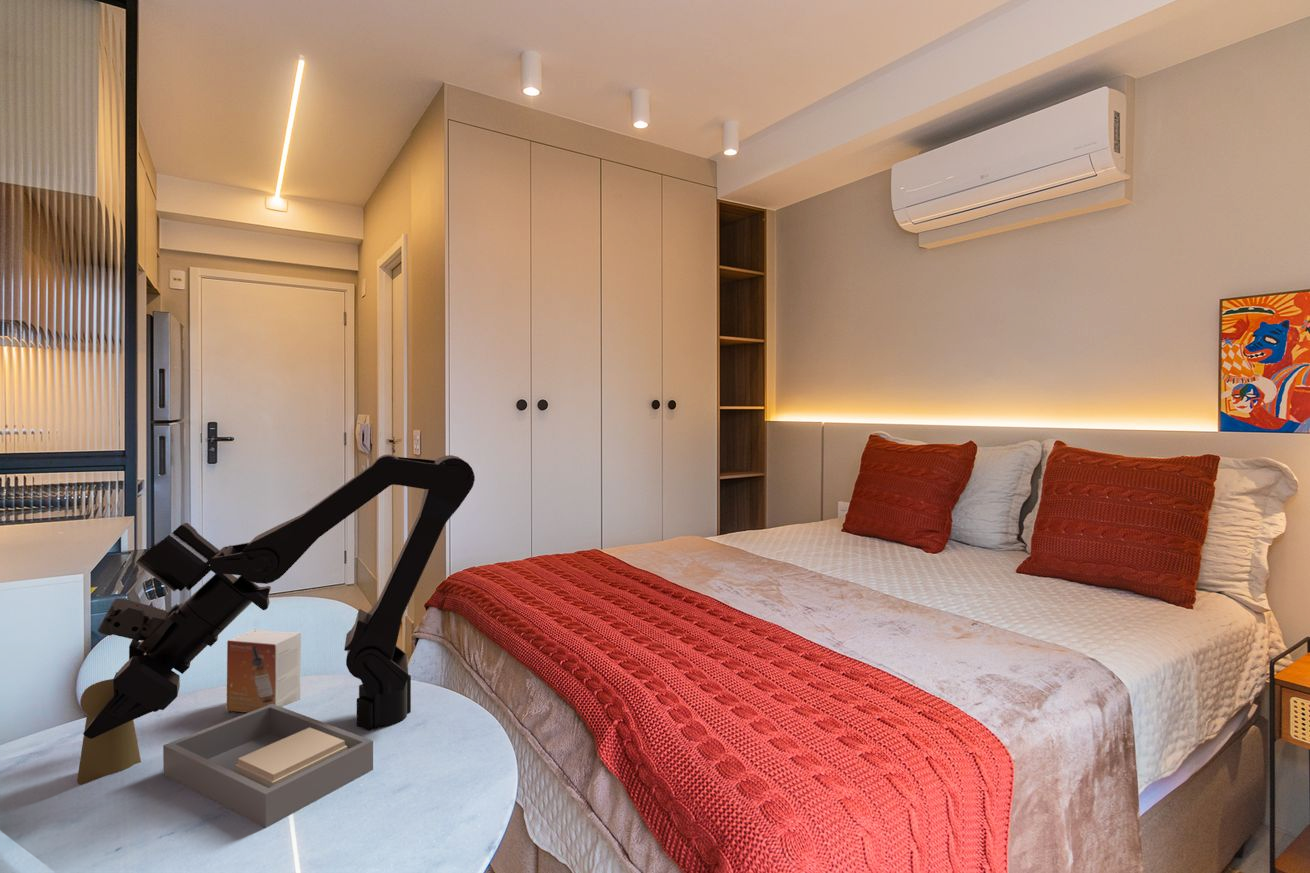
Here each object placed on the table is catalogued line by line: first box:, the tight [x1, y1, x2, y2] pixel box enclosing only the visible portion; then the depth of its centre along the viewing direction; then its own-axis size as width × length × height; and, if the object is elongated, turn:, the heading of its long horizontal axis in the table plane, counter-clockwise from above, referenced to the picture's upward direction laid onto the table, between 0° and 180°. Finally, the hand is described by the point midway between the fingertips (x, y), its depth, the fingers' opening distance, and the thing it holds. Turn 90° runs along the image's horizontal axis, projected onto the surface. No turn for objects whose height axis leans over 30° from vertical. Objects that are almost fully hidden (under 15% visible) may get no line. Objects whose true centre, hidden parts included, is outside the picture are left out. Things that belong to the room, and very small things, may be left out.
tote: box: [162, 704, 374, 829], centre depth 79 cm, size 13×20×4 cm, turn 61°
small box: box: [226, 628, 302, 713], centre depth 99 cm, size 8×6×10 cm
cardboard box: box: [235, 727, 347, 788], centre depth 77 cm, size 9×7×4 cm
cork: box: [76, 678, 142, 786], centre depth 80 cm, size 6×6×11 cm
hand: (94, 719), depth 80 cm, fingers open, 9 cm apart
